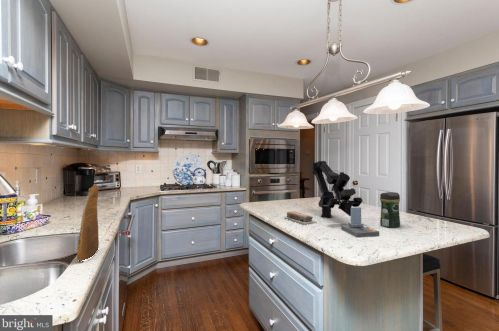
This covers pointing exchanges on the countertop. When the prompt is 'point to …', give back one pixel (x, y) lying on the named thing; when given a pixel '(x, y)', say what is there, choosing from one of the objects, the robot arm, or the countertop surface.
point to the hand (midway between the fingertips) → (350, 215)
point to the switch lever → (356, 217)
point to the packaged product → (300, 218)
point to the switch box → (360, 231)
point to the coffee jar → (390, 209)
